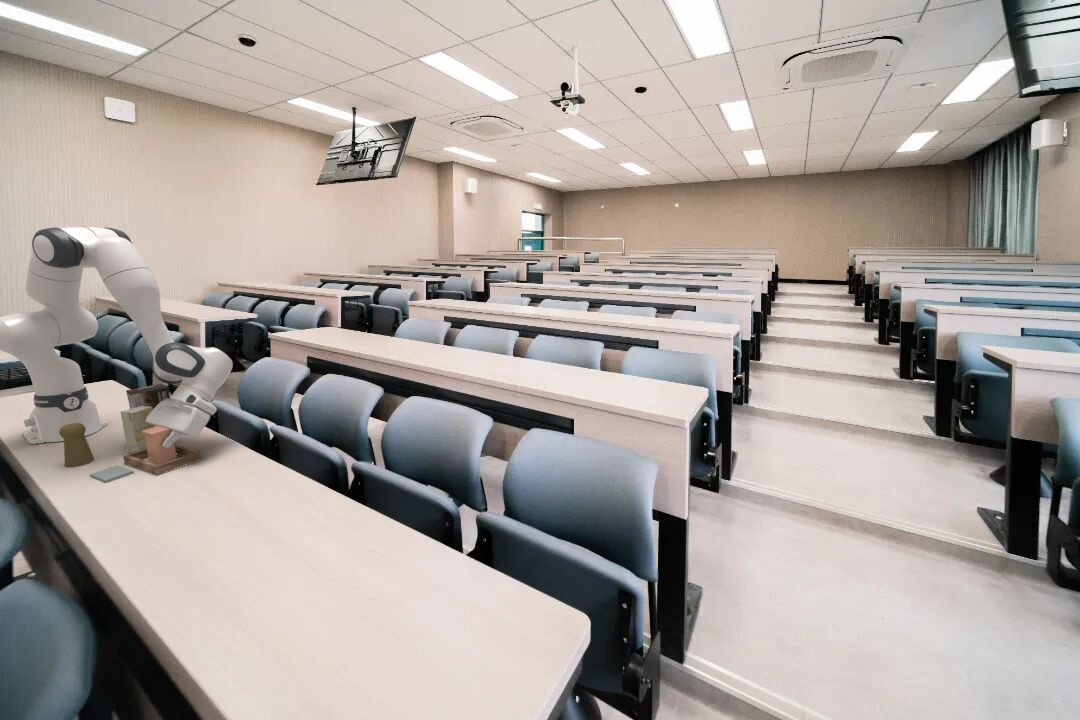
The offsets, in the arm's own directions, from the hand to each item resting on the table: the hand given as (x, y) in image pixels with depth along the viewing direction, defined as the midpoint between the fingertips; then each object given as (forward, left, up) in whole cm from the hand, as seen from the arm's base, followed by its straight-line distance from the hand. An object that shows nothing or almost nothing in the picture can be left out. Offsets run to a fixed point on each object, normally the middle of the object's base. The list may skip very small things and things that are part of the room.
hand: (157, 445), depth 135 cm
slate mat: (-3, -10, -5) cm, 11 cm away
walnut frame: (0, +1, -5) cm, 5 cm away
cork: (-20, -10, -5) cm, 23 cm away
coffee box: (-20, +9, -5) cm, 23 cm away
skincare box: (-15, +3, -5) cm, 16 cm away
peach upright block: (0, +1, -5) cm, 5 cm away
